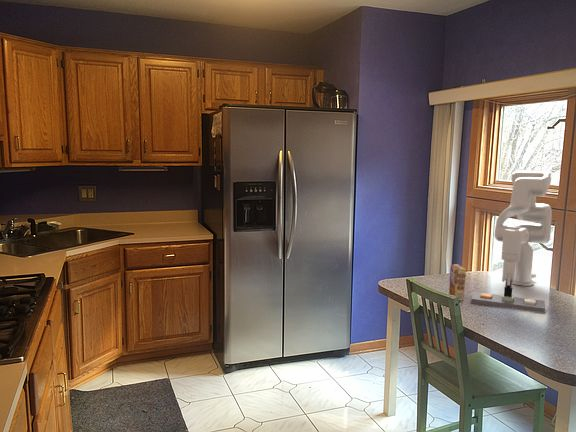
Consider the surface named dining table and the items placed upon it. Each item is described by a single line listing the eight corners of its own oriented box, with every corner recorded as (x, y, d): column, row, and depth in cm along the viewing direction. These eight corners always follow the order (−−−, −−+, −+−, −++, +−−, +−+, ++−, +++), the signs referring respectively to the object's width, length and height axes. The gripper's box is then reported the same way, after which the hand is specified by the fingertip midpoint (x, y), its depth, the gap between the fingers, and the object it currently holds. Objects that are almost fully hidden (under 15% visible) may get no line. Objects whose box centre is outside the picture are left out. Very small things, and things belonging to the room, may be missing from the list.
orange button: (481, 297, 224) (481, 292, 224) (491, 298, 222) (491, 294, 222) (480, 300, 220) (480, 295, 220) (491, 301, 218) (491, 296, 218)
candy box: (464, 300, 221) (466, 268, 219) (455, 300, 221) (457, 268, 219) (457, 294, 230) (458, 264, 228) (448, 295, 230) (450, 264, 228)
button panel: (473, 295, 229) (473, 291, 229) (544, 304, 216) (544, 300, 216) (470, 302, 218) (471, 298, 218) (545, 313, 205) (545, 308, 205)
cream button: (524, 303, 216) (524, 298, 216) (535, 304, 214) (535, 299, 214) (524, 305, 212) (524, 301, 212) (535, 307, 210) (535, 302, 210)
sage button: (502, 298, 220) (502, 293, 219) (513, 299, 218) (513, 295, 218) (502, 301, 216) (502, 296, 216) (512, 302, 214) (513, 297, 214)
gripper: (502, 252, 222) (499, 290, 225) (500, 258, 209) (497, 299, 211) (520, 254, 219) (517, 293, 221) (519, 260, 206) (516, 301, 208)
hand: (507, 296), depth 216 cm, fingers closed
